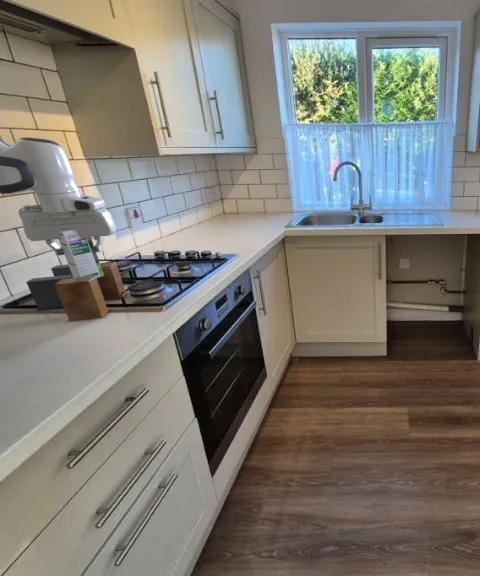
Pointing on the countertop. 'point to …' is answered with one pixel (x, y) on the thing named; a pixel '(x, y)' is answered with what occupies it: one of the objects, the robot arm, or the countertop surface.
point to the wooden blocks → (90, 293)
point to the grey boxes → (49, 288)
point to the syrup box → (80, 254)
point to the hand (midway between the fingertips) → (80, 253)
